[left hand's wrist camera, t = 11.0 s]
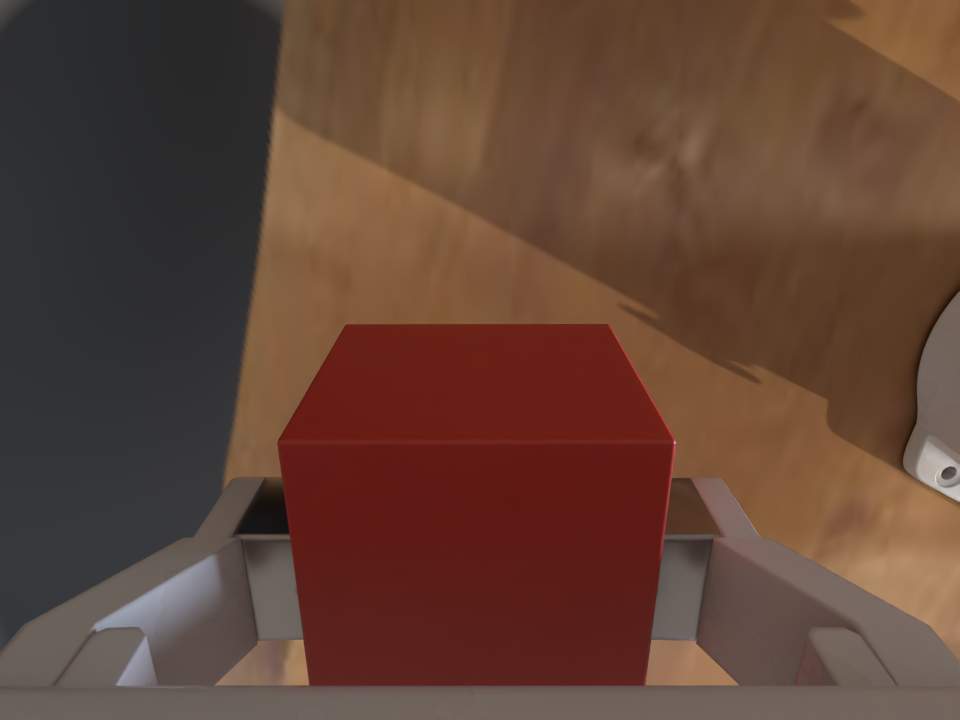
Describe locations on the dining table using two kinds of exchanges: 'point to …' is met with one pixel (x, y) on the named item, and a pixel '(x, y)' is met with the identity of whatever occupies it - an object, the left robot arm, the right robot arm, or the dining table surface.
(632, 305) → the dining table surface
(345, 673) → the brick
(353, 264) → the dining table surface
